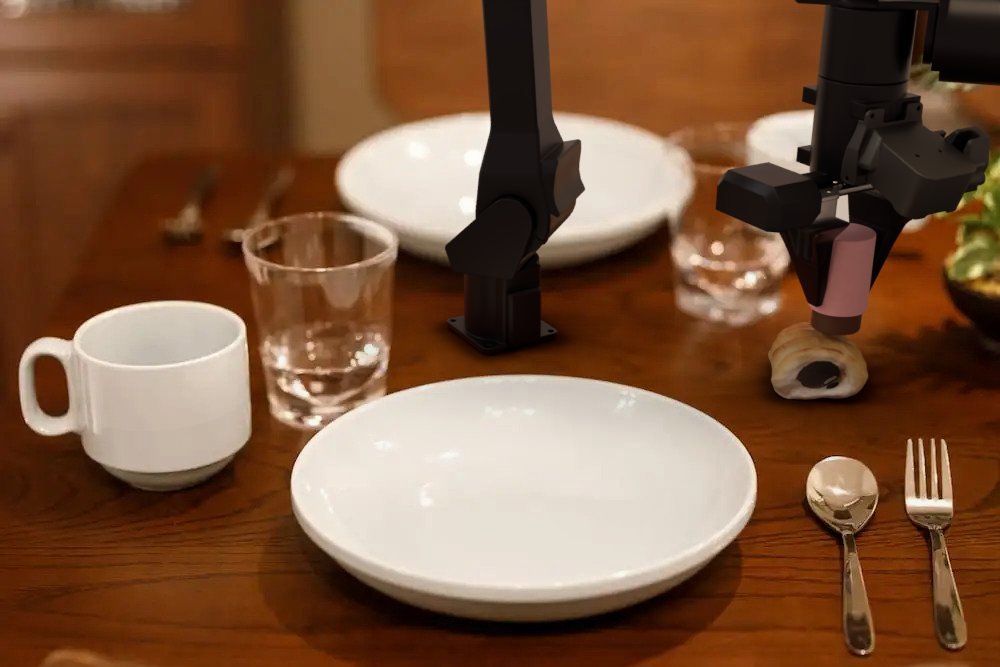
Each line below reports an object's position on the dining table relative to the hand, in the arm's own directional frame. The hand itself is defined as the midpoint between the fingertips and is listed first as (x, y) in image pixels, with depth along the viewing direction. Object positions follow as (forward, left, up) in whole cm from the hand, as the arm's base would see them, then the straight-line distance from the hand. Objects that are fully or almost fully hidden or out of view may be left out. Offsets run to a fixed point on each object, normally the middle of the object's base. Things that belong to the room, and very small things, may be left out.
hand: (837, 299), depth 91 cm
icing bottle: (0, 0, -2) cm, 2 cm away
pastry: (-1, -1, -6) cm, 7 cm away
